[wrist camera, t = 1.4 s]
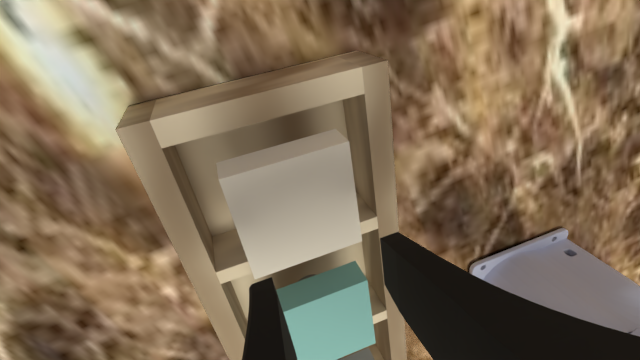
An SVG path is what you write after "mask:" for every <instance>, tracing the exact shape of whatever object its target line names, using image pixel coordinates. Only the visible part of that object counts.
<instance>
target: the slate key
mask: <svg viewBox="0 0 640 360" xmlns="http://www.w3.org/2000/svg"><path fill="white" fill-rule="evenodd" d="M337 360H375V359H374V357H373V355H372V353H371V351H370V349H369V348H366V349H364V350H362V351H359V352H357V353H354V354H352V355H350V356H347V357H345V358H342V357H341V358H339V359H337Z"/></svg>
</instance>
